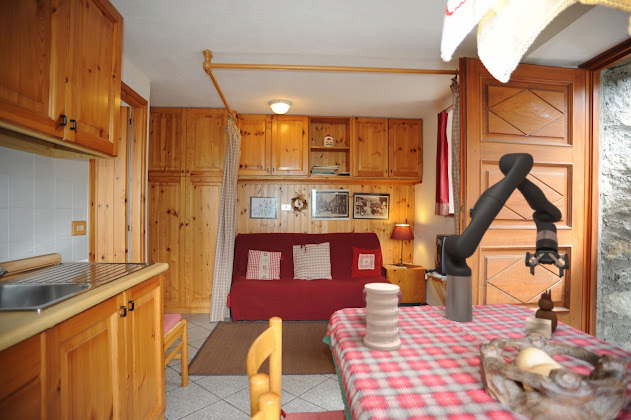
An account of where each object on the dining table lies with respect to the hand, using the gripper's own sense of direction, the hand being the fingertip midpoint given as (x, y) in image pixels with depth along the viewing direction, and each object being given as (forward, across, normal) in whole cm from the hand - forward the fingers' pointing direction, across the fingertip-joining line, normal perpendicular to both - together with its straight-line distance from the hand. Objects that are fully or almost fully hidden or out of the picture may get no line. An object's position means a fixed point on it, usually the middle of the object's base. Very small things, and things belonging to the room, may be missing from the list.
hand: (546, 275), depth 124 cm
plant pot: (+42, -49, -17) cm, 67 cm away
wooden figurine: (+21, 0, +4) cm, 22 cm away
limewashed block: (+26, -2, -1) cm, 26 cm away
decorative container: (+54, -41, -29) cm, 74 cm away
